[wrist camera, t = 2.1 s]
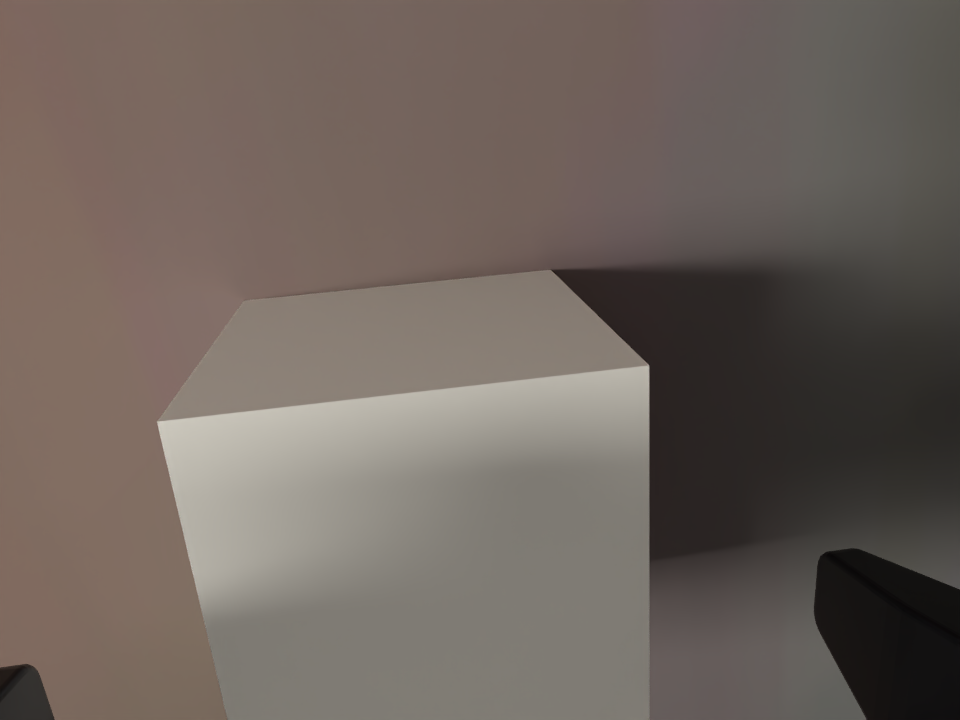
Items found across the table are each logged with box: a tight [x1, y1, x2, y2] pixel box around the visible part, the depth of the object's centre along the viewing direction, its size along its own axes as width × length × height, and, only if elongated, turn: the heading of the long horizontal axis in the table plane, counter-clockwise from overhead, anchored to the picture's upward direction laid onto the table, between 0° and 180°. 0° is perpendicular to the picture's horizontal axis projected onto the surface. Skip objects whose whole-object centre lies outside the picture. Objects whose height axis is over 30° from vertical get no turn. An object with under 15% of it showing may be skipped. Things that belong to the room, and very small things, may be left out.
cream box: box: [157, 270, 649, 720], centre depth 11 cm, size 5×6×5 cm
